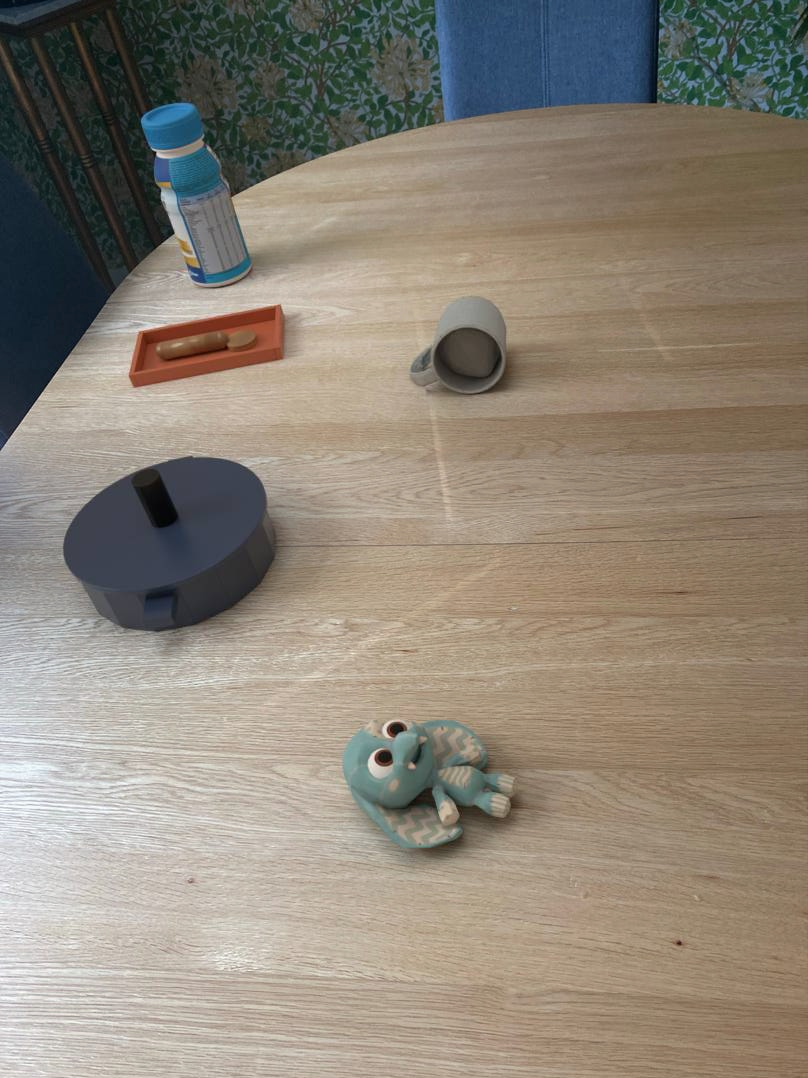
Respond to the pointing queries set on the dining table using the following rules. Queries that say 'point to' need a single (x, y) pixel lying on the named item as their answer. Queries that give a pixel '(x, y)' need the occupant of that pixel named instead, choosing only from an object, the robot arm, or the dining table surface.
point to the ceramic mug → (465, 348)
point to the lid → (165, 526)
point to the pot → (193, 590)
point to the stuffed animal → (421, 778)
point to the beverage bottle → (196, 196)
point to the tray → (157, 370)
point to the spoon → (206, 344)
